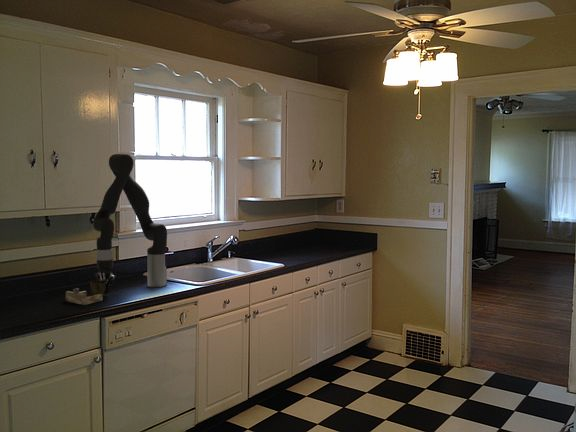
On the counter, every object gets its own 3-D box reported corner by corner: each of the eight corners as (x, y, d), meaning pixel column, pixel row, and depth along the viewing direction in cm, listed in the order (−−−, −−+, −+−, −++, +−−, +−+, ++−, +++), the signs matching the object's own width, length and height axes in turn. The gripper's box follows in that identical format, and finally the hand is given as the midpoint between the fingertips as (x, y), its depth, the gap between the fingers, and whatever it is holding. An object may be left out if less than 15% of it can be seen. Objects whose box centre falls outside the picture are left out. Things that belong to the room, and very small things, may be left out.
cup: (101, 295, 274) (101, 279, 273) (109, 297, 269) (109, 281, 268) (87, 297, 268) (87, 281, 267) (95, 300, 263) (95, 283, 263)
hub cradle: (84, 297, 270) (84, 283, 269) (102, 300, 263) (102, 286, 262) (65, 301, 260) (64, 287, 260) (83, 305, 253) (83, 290, 253)
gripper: (120, 258, 270) (121, 293, 272) (101, 256, 277) (103, 290, 279) (107, 260, 264) (108, 296, 265) (89, 258, 271) (90, 293, 272)
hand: (105, 293), depth 272 cm, fingers closed
